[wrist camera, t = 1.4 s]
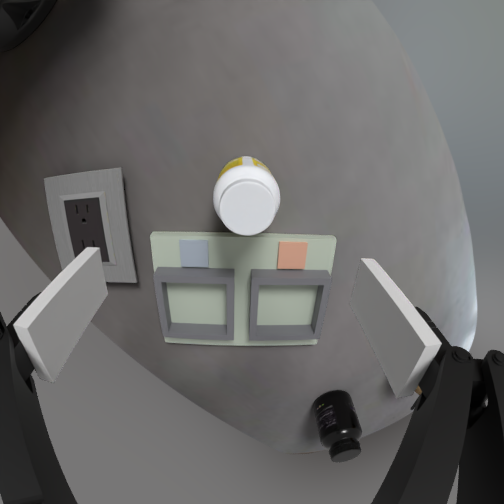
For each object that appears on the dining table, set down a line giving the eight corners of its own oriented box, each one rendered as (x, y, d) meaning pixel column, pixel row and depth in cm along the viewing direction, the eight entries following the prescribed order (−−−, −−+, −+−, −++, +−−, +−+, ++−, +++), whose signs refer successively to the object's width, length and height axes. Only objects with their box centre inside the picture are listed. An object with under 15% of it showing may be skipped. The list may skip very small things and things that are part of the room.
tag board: (153, 231, 31) (144, 242, 28) (333, 235, 32) (342, 246, 29) (167, 336, 37) (162, 352, 34) (314, 338, 38) (319, 354, 35)
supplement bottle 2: (357, 393, 44) (376, 447, 33) (332, 413, 47) (346, 466, 36) (330, 385, 43) (347, 445, 32) (304, 406, 45) (315, 464, 34)
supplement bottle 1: (216, 205, 30) (205, 241, 21) (221, 153, 28) (211, 166, 19) (268, 210, 30) (279, 248, 21) (275, 159, 28) (291, 175, 19)
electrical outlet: (141, 274, 33) (136, 284, 31) (72, 272, 33) (64, 281, 31) (128, 164, 28) (119, 168, 26) (53, 174, 28) (42, 179, 25)
